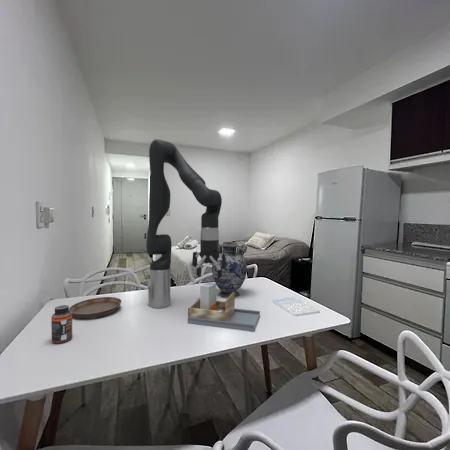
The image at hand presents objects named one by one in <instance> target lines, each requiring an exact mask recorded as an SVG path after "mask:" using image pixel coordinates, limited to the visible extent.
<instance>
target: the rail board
mask: <svg viewBox="0 0 450 450" xmlns="http://www.w3.org/2000/svg"><path fill="white" fill-rule="evenodd" d="M260 317H261V311H259V310H252V309H243V308H234V313H233V315H232V316H231V318H230V319H229V321H220V320H211V319H203V318H195V317H188V316H187V324H191V325H197V326H198V325H200V326H205V327H206V326H207V327H212V328H213V327H215V328H222V329H229V330H235V331H236V330H237V331H243V332H244V331H246V332H254V331H255V330H256V326H257V325H258V321H259V319H260Z"/></svg>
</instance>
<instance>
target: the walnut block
mask: <svg viewBox="0 0 450 450" xmlns="http://www.w3.org/2000/svg"><path fill="white" fill-rule="evenodd" d="M219 309H224V312H225V303H221V304H220V305H219Z"/></svg>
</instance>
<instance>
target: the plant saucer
mask: <svg viewBox="0 0 450 450" xmlns="http://www.w3.org/2000/svg"><path fill="white" fill-rule="evenodd" d="M121 304H122V299H120V298H118V297H116V296H115V297H114V296H103V297H101V296H100V297H95V298H90V299H84V300H82V301H79V302H77V303H74V304H72V305H71V306H69V311H70V312H71V313H72V316H74V317H75V318H79V319H84V320H85V319H96V318H101V317H105V316H108V315H110V314H112V313H114V312H115V311H116V310H117V309H118V308H119V307H120V305H121Z"/></svg>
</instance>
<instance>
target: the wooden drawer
mask: <svg viewBox="0 0 450 450" xmlns="http://www.w3.org/2000/svg"><path fill="white" fill-rule="evenodd" d="M235 299H236V297H235V292H233V293H232V294H231V295H230V296H229V297H226V299H225V300H223V301H222V300H216V310H217V309H219V305H220V304H221V303H225V312H223V311H214V310H205V309H200V298H198V299H197V300H196V301H195V302H194V303H192V304H191V305H190V306H189V307H188V308H187V318H188V317H195V318H203V319H211V320H220V321H229V319H230V318H231V316H232V315H233V313H234V309H235V307H236V306H235V304H236V303H235Z"/></svg>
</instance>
